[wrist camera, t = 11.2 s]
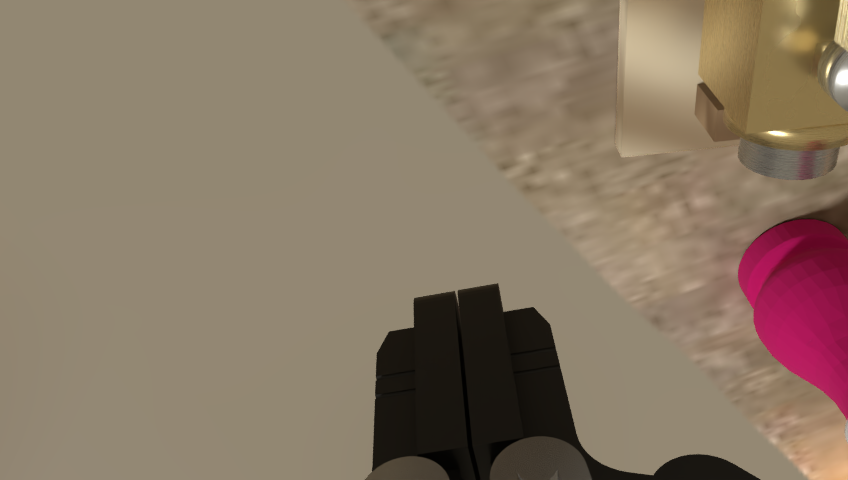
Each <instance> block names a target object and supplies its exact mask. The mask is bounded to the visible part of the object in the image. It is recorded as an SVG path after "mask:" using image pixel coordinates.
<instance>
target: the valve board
mask: <svg viewBox="0 0 848 480" xmlns="http://www.w3.org/2000/svg"><path fill="white" fill-rule="evenodd" d="M704 4H705V0H620V14H619V43H618V73H617V103H616V132H615V145H616V147H617V149H618V151H619V153H620V155H621V157H630V156H640V155H650V154H660V153H669V152H679V151H689V150H698V149H708V148H718V147H727V146H737V145H739V141H740V137H739V136H737V135H736V134H734V133H733V132H731V131H730V130H729V129H728V128H727V127H726V125H725V123H724V120H723V113H724V106H723V105H722V104H721V102H720V101H719V100H718V99H717V97H716V96H715V95H714V94H713V92H712V91H711V90H710V89H709V87H708V86H707V85H706V84H705V82H704V81H703V80H702V79H701V77H700V76H699V75H698V69H699V58H700V47H701V36H702V26H703V15H704Z"/></svg>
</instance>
